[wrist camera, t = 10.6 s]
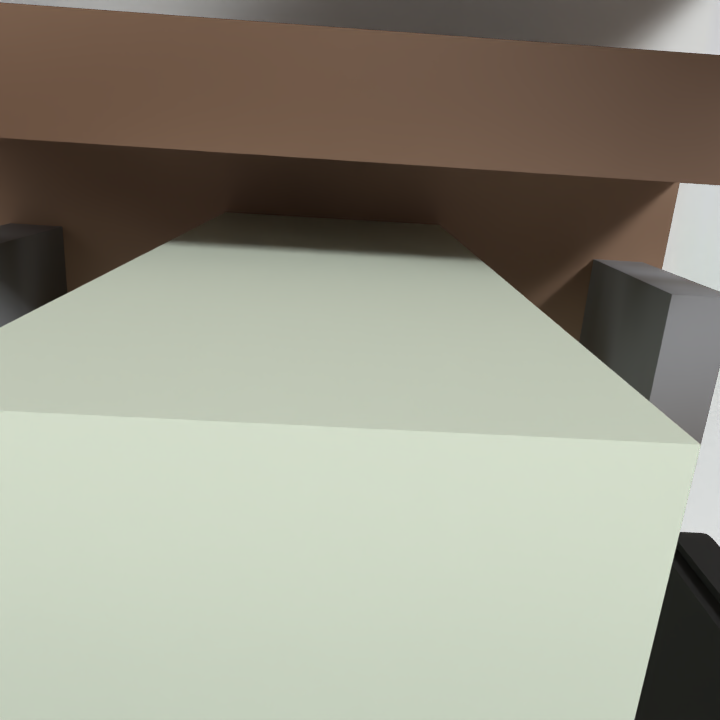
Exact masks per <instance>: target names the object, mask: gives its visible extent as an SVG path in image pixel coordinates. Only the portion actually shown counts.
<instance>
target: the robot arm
mask: <svg viewBox="0 0 720 720" xmlns="http://www.w3.org/2000/svg"><path fill="white" fill-rule="evenodd" d="M634 720H720V547H719V545H718V544H717V543H716V542H715V541H714V540H713V539H712V538H711V537H710V536H709V535H707V534H704V533H690V532H680V533H679V537H678V541H677V546H676V550H675V554H674V558H673V562H672V566H671V570H670V574H669V579H668V583H667V587H666V591H665V595H664V599H663V603H662V608H661V612H660V616H659V620H658V624H657V628H656V632H655V636H654V641H653V645H652V649H651V653H650V657H649V661H648V665H647V670H646V674H645V678H644V682H643V686H642V690H641V694H640V698H639V703H638V707H637V711H636V715H635V719H634Z"/></svg>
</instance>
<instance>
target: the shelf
mask: <svg viewBox="0 0 720 720" xmlns="http://www.w3.org/2000/svg"><path fill="white" fill-rule="evenodd" d="M680 183H694V184H709V185H720V55H711V54H697V53H683V52H670V51H656V50H642V49H629V48H615V47H601V46H588V45H574V44H560V43H547V42H533V41H519V40H505V39H492V38H478V37H464V36H451V35H437V34H423V33H410V32H396V31H382V30H369V29H355V28H341V27H327V26H314V25H300V24H286V23H273V22H259V21H245V20H232V19H218V18H204V17H191V16H177V15H163V14H149V13H136V12H122V11H108V10H95V9H81V8H67V7H54V6H40V5H26V4H13V3H0V327H2V326H4V325H6V324H8V323H10V322H12V321H14V320H16V319H18V318H20V317H22V316H24V315H26V314H28V313H30V312H32V311H33V310H35V309H37V308H39V307H41V306H43V305H45V304H47V303H49V302H51V301H53V300H55V299H57V298H59V297H61V296H63V295H65V294H67V293H69V292H71V291H73V290H75V289H77V288H79V287H81V286H82V285H84V284H86V283H88V282H90V281H92V280H94V279H96V278H98V277H100V276H102V275H104V274H106V273H108V272H110V271H112V270H114V269H116V268H118V267H120V266H122V265H124V264H126V263H128V262H129V261H131V260H133V259H135V258H137V257H139V256H141V255H143V254H145V253H147V252H149V251H151V250H153V249H155V248H157V247H159V246H161V245H163V244H165V243H167V242H169V241H171V240H173V239H175V238H176V237H178V236H180V235H182V234H184V233H186V232H188V231H190V230H192V229H194V228H196V227H198V226H200V225H202V224H204V223H206V222H208V221H210V220H212V219H214V218H216V217H218V216H220V215H222V214H223V213H225V212H229V213H246V214H263V215H280V216H297V217H314V218H331V219H348V220H365V221H381V222H398V223H415V224H432V225H440V226H441V227H442V228H443V229H445V230H446V231H447V232H448V233H449V234H450V235H452V236H453V237H454V238H455V239H456V240H458V241H459V242H460V243H461V244H462V245H464V246H465V247H466V248H467V249H468V250H470V251H471V252H472V253H473V254H474V255H475V256H477V257H478V258H479V259H480V260H481V261H483V262H484V263H485V264H486V265H487V266H489V267H490V268H491V269H492V270H493V271H495V272H496V273H497V274H498V275H499V276H501V277H502V278H503V279H504V280H505V281H506V282H508V283H509V284H510V285H511V286H512V287H514V288H515V289H516V290H517V291H518V292H520V293H521V294H522V295H523V296H524V297H526V298H527V299H528V300H529V301H530V302H531V303H533V304H534V305H535V306H536V307H537V308H539V309H540V310H541V311H542V312H543V313H545V314H546V315H547V316H548V317H549V318H551V319H552V320H553V321H554V322H555V323H556V324H558V325H559V326H560V327H561V328H562V329H564V330H565V331H566V332H567V333H568V334H570V335H571V336H572V337H573V338H574V339H576V340H577V341H578V342H579V343H580V344H582V345H583V346H584V347H585V348H586V349H587V350H589V351H590V352H591V353H592V354H593V355H595V356H596V357H597V358H598V359H599V360H601V361H602V362H603V363H604V364H605V365H607V366H608V367H609V368H610V369H611V370H612V371H614V372H615V373H616V374H617V375H618V376H620V377H621V378H622V379H623V380H624V381H626V382H627V383H628V384H629V385H630V386H632V387H633V388H634V389H635V390H636V391H638V392H639V393H640V394H641V395H642V396H643V397H645V398H646V399H647V400H648V401H649V402H651V403H652V404H653V405H654V406H655V407H657V408H658V409H659V410H660V411H661V412H663V413H664V414H665V415H666V416H667V417H668V418H670V419H671V420H672V421H673V422H674V423H676V424H677V425H678V426H679V427H680V428H682V429H683V430H684V431H685V432H686V433H688V434H689V435H690V436H691V437H692V438H694V439H695V440H696V441H697V442H698V443H699V444H701V441H702V437H703V433H704V429H705V425H706V421H707V417H708V413H709V409H710V405H711V401H712V396H713V392H714V388H715V384H716V380H717V376H718V372H719V368H720V292H719V291H716V290H714V289H711V288H708V287H706V286H703V285H701V284H698V283H695V282H693V281H690V280H688V279H685V278H682V277H680V276H677V275H675V274H672V273H669V272H667V271H664V270H662V266H663V261H664V256H665V251H666V246H667V242H668V237H669V232H670V227H671V222H672V217H673V213H674V208H675V203H676V198H677V193H678V188H679V184H680Z"/></svg>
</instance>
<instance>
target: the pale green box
mask: <svg viewBox="0 0 720 720" xmlns="http://www.w3.org/2000/svg"><path fill="white" fill-rule="evenodd" d="M700 446H701V444H699V443H698V442H697V441H696V440H695V439H694V438H692V437H691V436H690V435H689V434H688V433H686V432H685V431H684V430H683V429H682V428H680V427H679V426H678V425H677V424H676V423H674V422H673V421H672V420H671V419H670V418H668V417H667V416H666V415H665V414H664V413H663V412H661V411H660V410H659V409H658V408H657V407H655V406H654V405H653V404H652V403H651V402H649V401H648V400H647V399H646V398H645V397H643V396H642V395H641V394H640V393H639V392H638V391H636V390H635V389H634V388H633V387H632V386H630V385H629V384H628V383H627V382H626V381H624V380H623V379H622V378H621V377H620V376H618V375H617V374H616V373H615V372H614V371H612V370H611V369H610V368H609V367H608V366H607V365H605V364H604V363H603V362H602V361H601V360H599V359H598V358H597V357H596V356H595V355H593V354H592V353H591V352H590V351H589V350H587V349H586V348H585V347H584V346H583V345H582V344H580V343H579V342H578V341H577V340H576V339H574V338H573V337H572V336H571V335H570V334H568V333H567V332H566V331H565V330H564V329H562V328H561V327H560V326H559V325H558V324H556V323H555V322H554V321H553V320H552V319H551V318H549V317H548V316H547V315H546V314H545V313H543V312H542V311H541V310H540V309H539V308H537V307H536V306H535V305H534V304H533V303H531V302H530V301H529V300H528V299H527V298H526V297H524V296H523V295H522V294H521V293H520V292H518V291H517V290H516V289H515V288H514V287H512V286H511V285H510V284H509V283H508V282H506V281H505V280H504V279H503V278H502V277H501V276H499V275H498V274H497V273H496V272H495V271H493V270H492V269H491V268H490V267H489V266H487V265H486V264H485V263H484V262H483V261H481V260H480V259H479V258H478V257H477V256H475V255H474V254H473V253H472V252H471V251H470V250H468V249H467V248H466V247H465V246H464V245H462V244H461V243H460V242H459V241H458V240H456V239H455V238H454V237H453V236H452V235H450V234H449V233H448V232H447V231H446V230H445V229H443V228H442V227H441V226H440V225H432V224H415V223H398V222H381V221H365V220H348V219H331V218H314V217H297V216H280V215H263V214H246V213H229V212H225V213H223V214H222V215H220V216H218V217H216V218H214V219H212V220H210V221H208V222H206V223H204V224H202V225H200V226H198V227H196V228H194V229H192V230H190V231H188V232H186V233H184V234H182V235H180V236H178V237H176V238H175V239H173V240H171V241H169V242H167V243H165V244H163V245H161V246H159V247H157V248H155V249H153V250H151V251H149V252H147V253H145V254H143V255H141V256H139V257H137V258H135V259H133V260H131V261H129V262H128V263H126V264H124V265H122V266H120V267H118V268H116V269H114V270H112V271H110V272H108V273H106V274H104V275H102V276H100V277H98V278H96V279H94V280H92V281H90V282H88V283H86V284H84V285H82V286H81V287H79V288H77V289H75V290H73V291H71V292H69V293H67V294H65V295H63V296H61V297H59V298H57V299H55V300H53V301H51V302H49V303H47V304H45V305H43V306H41V307H39V308H37V309H35V310H33V311H32V312H30V313H28V314H26V315H24V316H22V317H20V318H18V319H16V320H14V321H12V322H10V323H8V324H6V325H4V326H2V327H0V720H634V719H635V715H636V711H637V707H638V703H639V698H640V694H641V690H642V686H643V682H644V678H645V674H646V670H647V665H648V661H649V657H650V653H651V649H652V645H653V641H654V636H655V632H656V628H657V624H658V620H659V616H660V612H661V608H662V603H663V599H664V595H665V591H666V587H667V583H668V579H669V574H670V570H671V566H672V562H673V558H674V554H675V550H676V546H677V541H678V537H679V533H680V529H681V525H682V521H683V517H684V513H685V508H686V504H687V500H688V496H689V492H690V488H691V484H692V479H693V475H694V471H695V467H696V463H697V459H698V455H699V451H700Z"/></svg>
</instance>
